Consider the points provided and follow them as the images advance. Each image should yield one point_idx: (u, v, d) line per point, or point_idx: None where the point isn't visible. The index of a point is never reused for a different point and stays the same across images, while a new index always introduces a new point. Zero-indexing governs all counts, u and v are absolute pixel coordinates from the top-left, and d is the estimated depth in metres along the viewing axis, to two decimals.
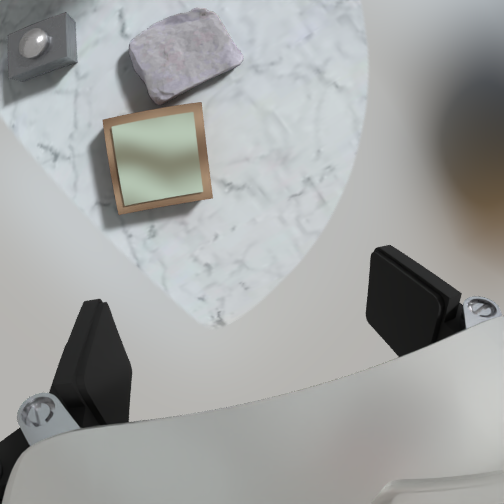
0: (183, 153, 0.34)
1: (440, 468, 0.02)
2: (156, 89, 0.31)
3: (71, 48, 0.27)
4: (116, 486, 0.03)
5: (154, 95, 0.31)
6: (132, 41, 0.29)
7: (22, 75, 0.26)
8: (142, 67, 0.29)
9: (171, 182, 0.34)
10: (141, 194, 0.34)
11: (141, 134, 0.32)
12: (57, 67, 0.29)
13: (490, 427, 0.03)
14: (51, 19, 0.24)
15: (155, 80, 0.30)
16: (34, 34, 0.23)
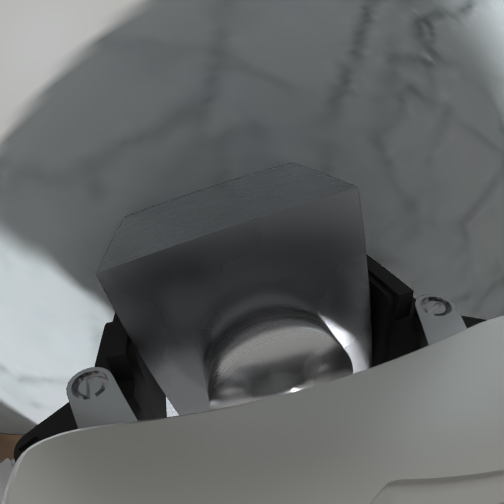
0: None
1: (440, 469, 0.02)
2: None
3: None
4: (116, 486, 0.03)
5: None
6: None
7: None
8: None
9: None
10: None
11: None
12: None
13: (490, 427, 0.03)
14: None
15: None
16: None
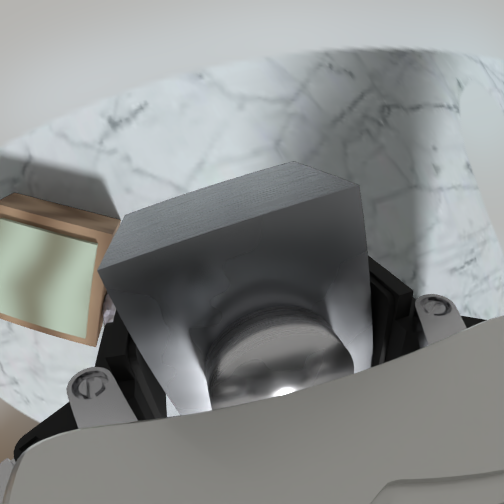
0: (41, 311, 0.23)
1: (440, 468, 0.02)
2: None
3: None
4: (116, 486, 0.03)
5: (112, 306, 0.26)
6: None
7: None
8: None
9: (12, 285, 0.22)
10: (6, 245, 0.21)
11: (73, 277, 0.23)
12: None
13: (490, 427, 0.03)
14: None
15: None
16: None
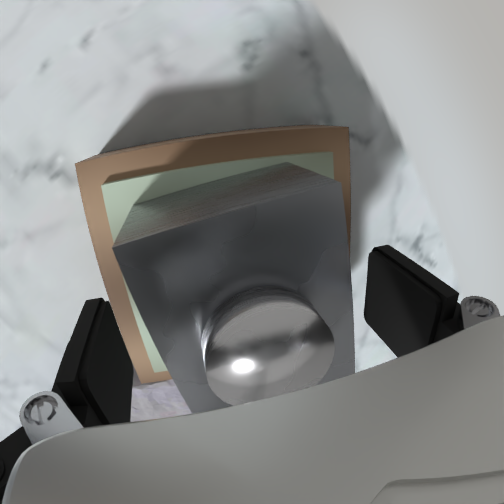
0: None
1: (440, 468, 0.02)
2: None
3: None
4: (116, 486, 0.03)
5: None
6: None
7: None
8: None
9: None
10: None
11: None
12: None
13: (490, 427, 0.03)
14: (346, 358, 0.11)
15: None
16: (307, 363, 0.09)
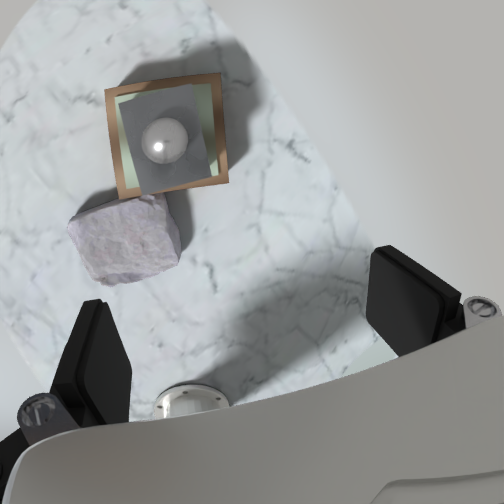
0: None
1: (440, 468, 0.02)
2: (155, 208, 0.31)
3: None
4: (116, 486, 0.03)
5: (159, 201, 0.32)
6: (175, 263, 0.36)
7: None
8: (167, 235, 0.33)
9: None
10: None
11: None
12: None
13: (490, 427, 0.03)
14: (203, 156, 0.25)
15: (155, 219, 0.32)
16: (177, 142, 0.23)
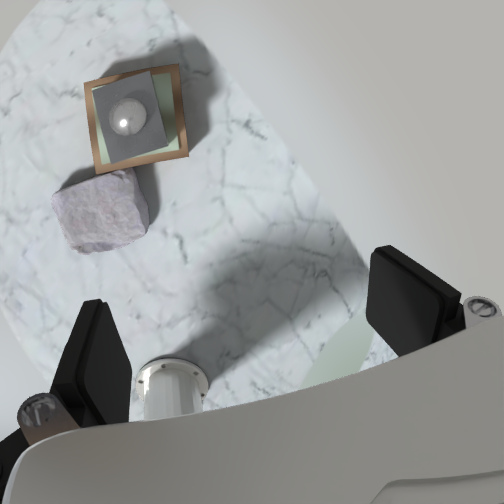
0: None
1: (440, 469, 0.02)
2: (125, 182, 0.35)
3: None
4: (116, 486, 0.03)
5: (128, 175, 0.35)
6: (142, 234, 0.39)
7: None
8: (134, 206, 0.36)
9: None
10: None
11: None
12: None
13: (490, 427, 0.03)
14: (160, 129, 0.29)
15: (124, 191, 0.35)
16: (137, 117, 0.27)
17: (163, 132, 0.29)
